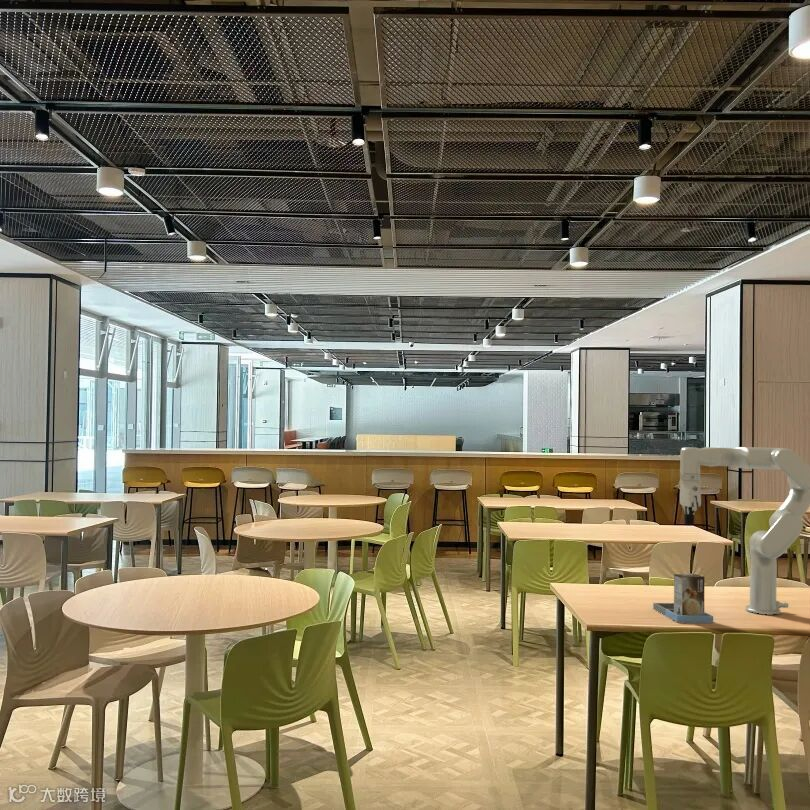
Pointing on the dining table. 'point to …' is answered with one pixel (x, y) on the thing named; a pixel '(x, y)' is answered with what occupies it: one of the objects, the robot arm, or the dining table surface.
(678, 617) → the bay tray
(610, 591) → the dining table surface
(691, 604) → the coffee box
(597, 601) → the dining table surface
